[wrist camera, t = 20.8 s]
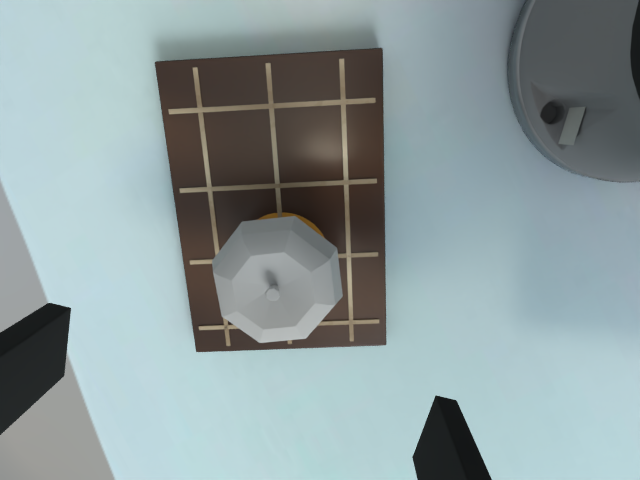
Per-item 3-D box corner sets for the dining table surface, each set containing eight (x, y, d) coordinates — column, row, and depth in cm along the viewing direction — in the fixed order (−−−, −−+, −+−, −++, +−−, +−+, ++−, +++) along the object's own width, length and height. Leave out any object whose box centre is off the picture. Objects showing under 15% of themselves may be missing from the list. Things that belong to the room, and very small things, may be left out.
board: (161, 64, 27) (153, 61, 26) (380, 51, 27) (383, 47, 25) (200, 344, 32) (195, 353, 31) (384, 337, 32) (386, 346, 30)
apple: (216, 294, 30) (185, 339, 23) (241, 186, 28) (215, 204, 21) (325, 323, 30) (324, 375, 24) (357, 219, 28) (366, 246, 22)
